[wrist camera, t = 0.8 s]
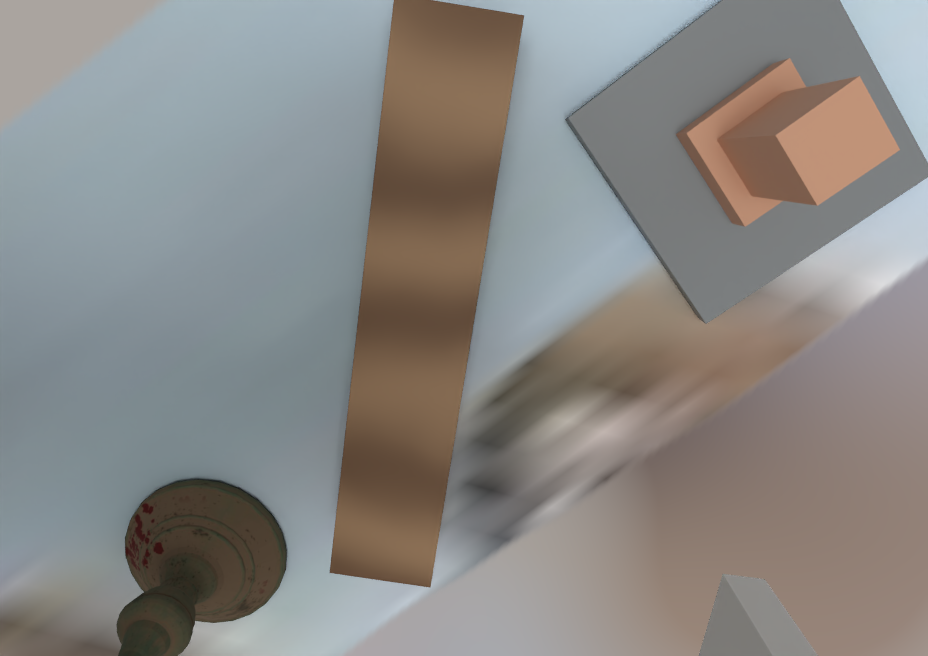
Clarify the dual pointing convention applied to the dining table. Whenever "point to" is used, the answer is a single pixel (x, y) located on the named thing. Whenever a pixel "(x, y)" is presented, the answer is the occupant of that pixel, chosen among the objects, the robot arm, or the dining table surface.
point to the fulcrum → (750, 144)
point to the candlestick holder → (196, 564)
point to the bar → (421, 280)
